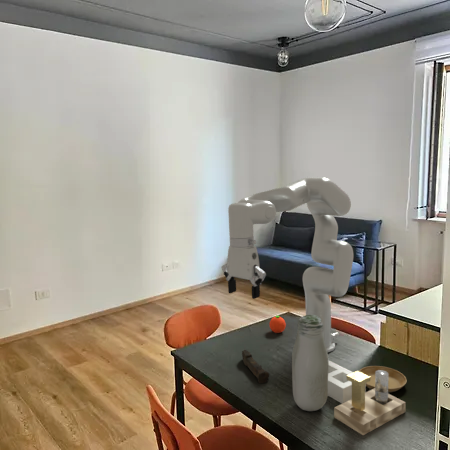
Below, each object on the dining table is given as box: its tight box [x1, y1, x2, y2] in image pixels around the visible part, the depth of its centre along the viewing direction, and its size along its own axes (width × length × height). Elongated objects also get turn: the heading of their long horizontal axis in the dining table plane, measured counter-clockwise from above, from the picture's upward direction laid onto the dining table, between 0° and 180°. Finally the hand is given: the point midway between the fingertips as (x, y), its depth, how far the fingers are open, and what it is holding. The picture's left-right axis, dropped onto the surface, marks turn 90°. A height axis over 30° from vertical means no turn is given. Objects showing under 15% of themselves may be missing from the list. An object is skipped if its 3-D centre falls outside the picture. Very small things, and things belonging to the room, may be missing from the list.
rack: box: [327, 359, 367, 404], centre depth 135 cm, size 10×16×5 cm, turn 33°
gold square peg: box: [347, 370, 370, 411], centre depth 117 cm, size 4×4×9 cm
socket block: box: [333, 388, 407, 436], centre depth 120 cm, size 18×10×3 cm, turn 123°
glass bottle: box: [291, 314, 329, 412], centre depth 123 cm, size 10×10×28 cm
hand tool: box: [241, 349, 270, 384], centre depth 149 cm, size 19×4×5 cm, turn 17°
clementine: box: [268, 315, 287, 334], centre depth 182 cm, size 8×7×7 cm
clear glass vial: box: [375, 370, 389, 405], centre depth 123 cm, size 4×4×11 cm
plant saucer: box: [358, 365, 407, 393], centre depth 137 cm, size 15×15×3 cm
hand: (243, 294), depth 136 cm, fingers open, 9 cm apart
